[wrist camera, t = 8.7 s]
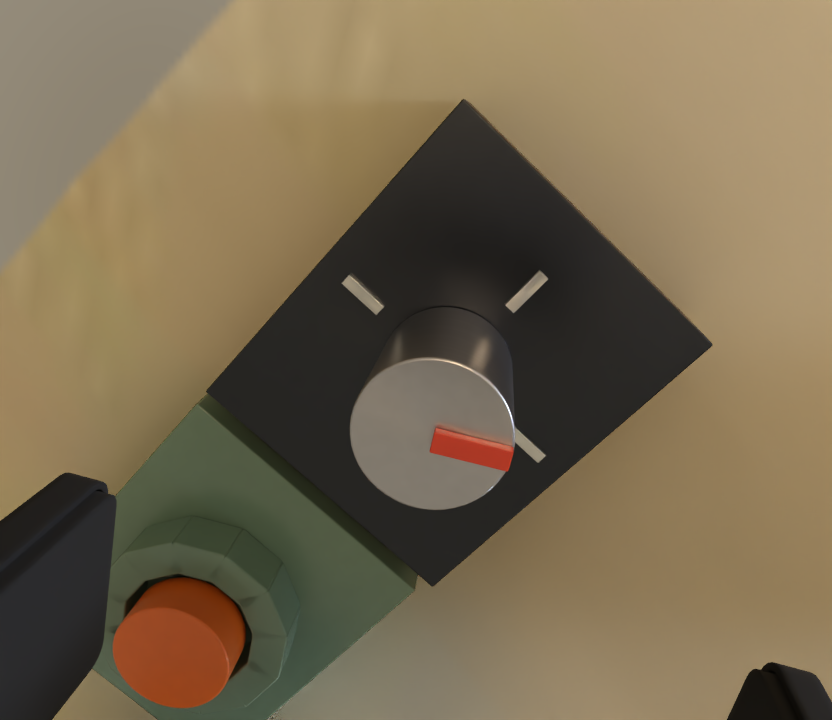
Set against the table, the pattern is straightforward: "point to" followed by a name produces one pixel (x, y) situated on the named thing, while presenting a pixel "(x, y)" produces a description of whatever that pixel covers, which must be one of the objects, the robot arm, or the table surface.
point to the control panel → (480, 294)
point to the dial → (437, 411)
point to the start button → (180, 642)
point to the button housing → (248, 560)
